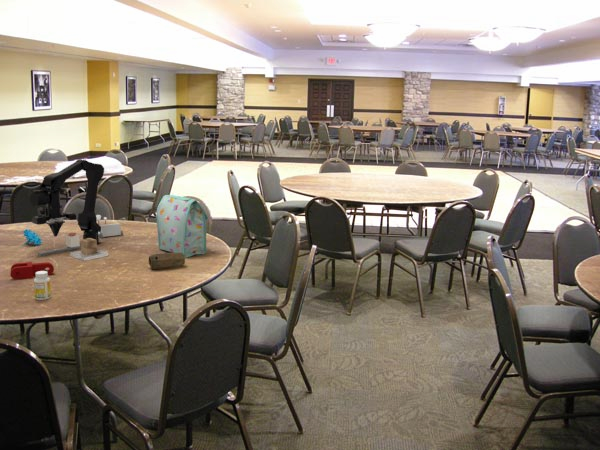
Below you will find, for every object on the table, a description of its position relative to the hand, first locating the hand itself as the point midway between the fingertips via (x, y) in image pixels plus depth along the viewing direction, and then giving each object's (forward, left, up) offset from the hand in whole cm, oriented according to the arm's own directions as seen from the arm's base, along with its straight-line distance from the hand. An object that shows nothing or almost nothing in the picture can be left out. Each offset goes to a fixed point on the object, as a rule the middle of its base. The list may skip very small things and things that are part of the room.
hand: (55, 236), depth 278 cm
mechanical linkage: (+25, +27, -8) cm, 38 cm away
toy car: (-37, -17, -8) cm, 41 cm away
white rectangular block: (-8, 0, -6) cm, 10 cm away
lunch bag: (-42, +39, -8) cm, 58 cm away
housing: (-7, +16, -6) cm, 19 cm away
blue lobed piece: (0, -21, -8) cm, 23 cm away
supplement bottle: (+35, +56, -8) cm, 66 cm away
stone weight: (-20, +56, -8) cm, 60 cm away
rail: (-2, 0, -8) cm, 8 cm away
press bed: (-7, +16, -8) cm, 19 cm away
